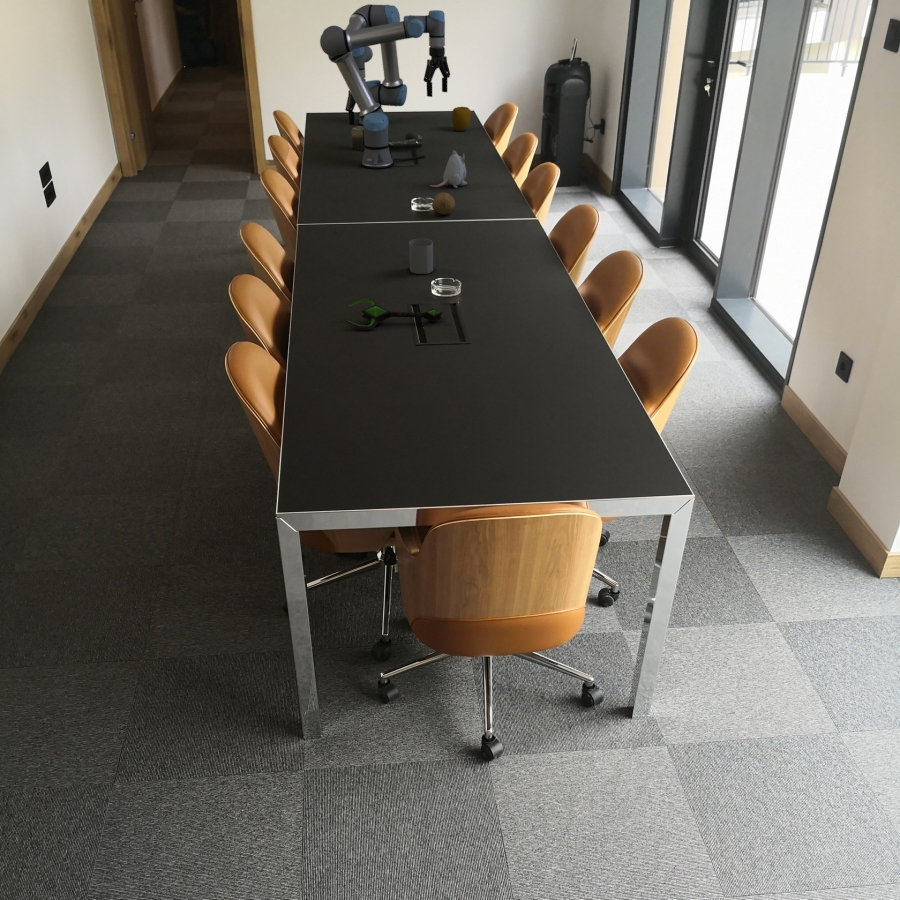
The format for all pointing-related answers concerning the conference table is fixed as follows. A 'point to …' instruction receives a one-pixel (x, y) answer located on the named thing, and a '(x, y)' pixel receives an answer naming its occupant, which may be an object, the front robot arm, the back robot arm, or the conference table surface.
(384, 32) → the front robot arm
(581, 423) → the conference table surface
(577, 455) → the conference table surface
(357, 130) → the block
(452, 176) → the toy
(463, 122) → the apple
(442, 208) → the potato
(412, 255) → the cup
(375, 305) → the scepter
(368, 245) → the conference table surface
